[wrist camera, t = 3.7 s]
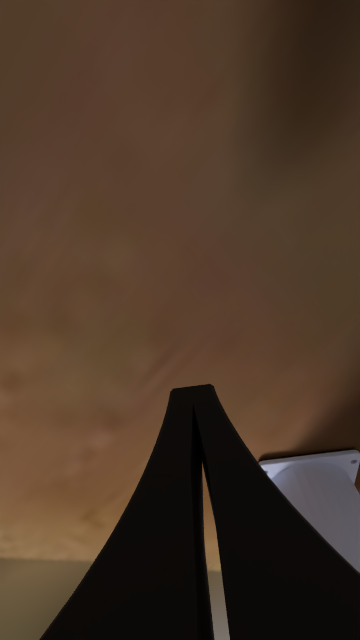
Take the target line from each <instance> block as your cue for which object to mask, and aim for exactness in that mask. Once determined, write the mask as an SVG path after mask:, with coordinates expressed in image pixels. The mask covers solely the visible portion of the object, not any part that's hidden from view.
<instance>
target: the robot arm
mask: <svg viewBox="0 0 360 640" xmlns="http://www.w3.org/2000/svg"><path fill="white" fill-rule="evenodd" d="M202 463H203V468H204V472H205V477H206V482H207V487H208V491H209V496H210V501H211V506H212V510H213V515H214V520H215V525H216V531H217V539H218V547H219V555H220V563H221V571H222V579H223V587H224V594H225V603H226V611H227V618H228V626H229V635H230V640H360V494H359V493H358V491H357V489H356V487H355V485H354V484H355V479H356V475H357V471H358V467H359V463H360V453H359V451H358V450H347V451H339V452H330V453H322V454H314V455H306V456H297V457H289V458H281V459H273V460H265V461H261V462H259V463H258V462H257V461H256V459H255V458H254V456H253V455H252V454H251V452H250V451H249V449H248V448H247V447H246V445H245V444H244V442H243V441H242V439H241V438H240V436H239V434H238V433H237V431H236V430H235V428H234V426H233V425H232V423H231V422H230V420H229V418H228V416H227V415H226V413H225V411H224V409H223V407H222V405H221V403H220V401H219V399H218V397H217V394H216V392H215V389H214V386H213V385H211V384H206V385H198V386H191V387H183V388H175V389H172V391H171V392H170V397H169V402H168V406H167V410H166V414H165V417H164V421H163V424H162V427H161V430H160V432H159V435H158V438H157V441H156V444H155V446H154V449H153V451H152V454H151V456H150V459H149V461H148V463H147V466H146V468H145V470H144V473H143V475H142V477H141V479H140V481H139V483H138V485H137V488H136V490H135V492H134V494H133V495H132V497H131V499H130V501H129V503H128V505H127V507H126V509H125V511H124V512H123V514H122V516H121V518H120V520H119V521H118V523H117V525H116V527H115V529H114V530H113V532H112V534H111V535H110V537H109V539H108V540H107V542H106V544H105V545H104V547H103V549H102V550H101V552H100V553H99V555H98V556H97V558H96V559H95V561H94V562H93V564H92V566H91V567H90V569H89V570H88V572H87V573H86V575H85V576H84V578H83V579H82V581H81V582H80V584H79V585H78V587H77V588H76V590H75V591H74V593H73V594H72V596H71V597H70V598H69V600H68V601H67V603H66V604H65V605H64V607H63V608H62V609H61V611H60V612H59V614H58V615H57V616H56V618H55V619H54V620H53V622H52V623H51V624H50V626H49V628H48V629H47V630H46V631H45V633H44V634H43V635H42V637H41V638H40V640H214V633H213V622H212V613H211V603H210V594H209V585H208V576H207V565H206V556H205V544H204V521H203V483H202Z"/></svg>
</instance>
